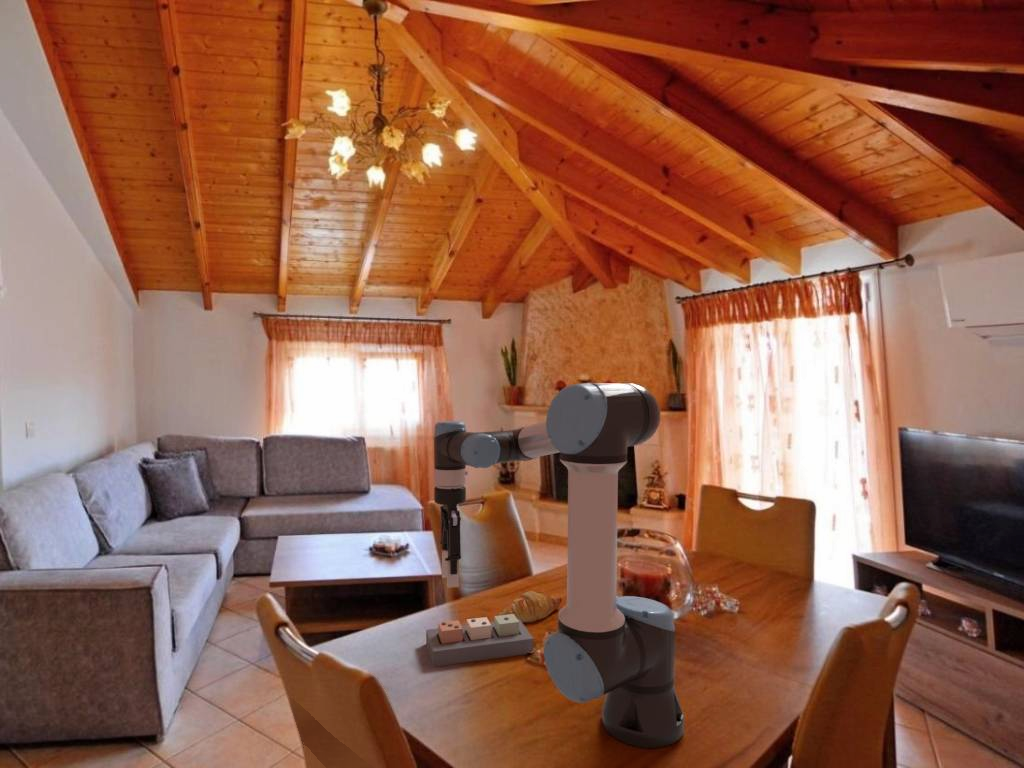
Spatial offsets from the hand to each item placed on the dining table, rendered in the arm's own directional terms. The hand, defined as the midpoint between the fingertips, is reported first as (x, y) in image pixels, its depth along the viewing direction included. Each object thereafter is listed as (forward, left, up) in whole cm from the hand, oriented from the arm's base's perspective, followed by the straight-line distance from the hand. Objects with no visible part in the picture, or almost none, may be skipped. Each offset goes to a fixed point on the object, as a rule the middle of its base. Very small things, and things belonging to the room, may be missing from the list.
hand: (450, 581), depth 140 cm
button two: (0, -7, -14) cm, 15 cm away
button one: (0, -14, -14) cm, 19 cm away
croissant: (+16, -25, -17) cm, 34 cm away
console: (0, -7, -17) cm, 18 cm away
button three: (0, 0, -14) cm, 14 cm away
